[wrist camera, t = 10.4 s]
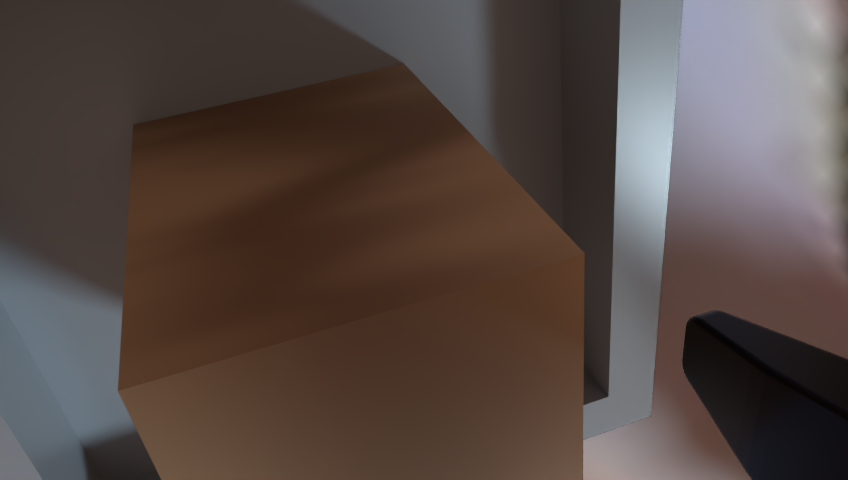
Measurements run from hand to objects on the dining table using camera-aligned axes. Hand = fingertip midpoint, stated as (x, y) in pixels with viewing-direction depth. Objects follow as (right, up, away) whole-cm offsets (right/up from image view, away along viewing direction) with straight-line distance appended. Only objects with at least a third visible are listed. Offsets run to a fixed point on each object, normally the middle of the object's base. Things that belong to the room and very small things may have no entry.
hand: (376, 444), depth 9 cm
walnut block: (-2, +3, +5) cm, 7 cm away
